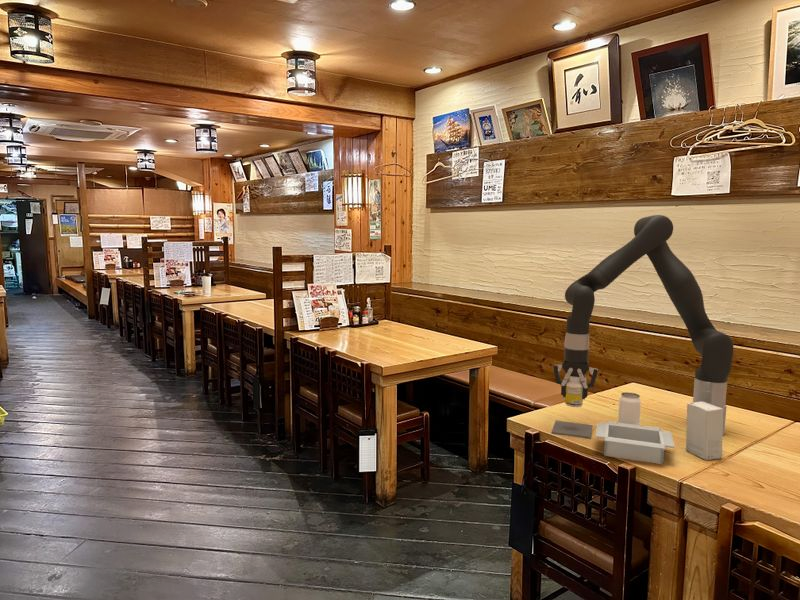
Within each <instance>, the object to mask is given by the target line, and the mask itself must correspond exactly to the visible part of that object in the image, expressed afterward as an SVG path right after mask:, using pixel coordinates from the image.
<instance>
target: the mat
mask: <svg viewBox="0 0 800 600" xmlns="http://www.w3.org/2000/svg"><path fill="white" fill-rule="evenodd" d="M593 427H594V425H593V424H587V423H580V422H572V421H565V420H555V421H554V424H553V426H552V429H551V433H550V434H552V435H560V436H567V437H575V438H582V439H587V440H588V439H589V440H591V439H592V433H593Z"/></svg>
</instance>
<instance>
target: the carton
mask: <svg viewBox="0 0 800 600" xmlns="http://www.w3.org/2000/svg"><path fill="white" fill-rule="evenodd" d="M596 426H597V427H596V431H595V438H597V439H604V447H603V448H604V449H603V457H604V456H605V457H611V458H618V459H625V460H631V461H638V462H644V461H646V462H647V463H651V462H652V463H653V464H658V465H659V464H660V465H664V458H665V451H666V448H670V449H675V443H674V439H673V436H672V432H671V431H667V430H666V431H665V430H662V427H657V426H649V425H641V424H639V425H634V424H626V423H618V421H617V422H616V421H608V420H606V422H605V423H604V422H597V424H596Z"/></svg>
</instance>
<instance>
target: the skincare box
mask: <svg viewBox="0 0 800 600" xmlns="http://www.w3.org/2000/svg"><path fill="white" fill-rule="evenodd" d="M686 405H687V406H686V430H685V431H686V435H685V436H686V438H685V451H687V452H688V453H691V454H693V455H695V456H697V457H699V458H701V459H703V460H705V461H710V460H722V458H723V440H724V439H723V436H724V435H723V408H720V407H717V406H714V405H711V404H708V403H705V402H694V403H693V402H687V404H686Z"/></svg>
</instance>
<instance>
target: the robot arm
mask: <svg viewBox="0 0 800 600" xmlns="http://www.w3.org/2000/svg"><path fill="white" fill-rule="evenodd" d="M633 233H634V234H633V235H634V237H633V238H632V239H631V240H630V241H628V242H627V243H626V244H624V245H623V246H622V247H620V248H618V249H617V250H616V251H613V252H612V253H611V254H609V255H607V256H606V257H605V258H604V259H603V260H602V261H600V262H599V263H598V264H597V265H595V266H594V267H593V268H592V269H591V270H590V271H589V272H588V273H586V274H584V275H583V276H581V277H579V278H578V279H577V280H574V282H572V283H571V284H570V285H568V287H567V288H566V290H565V293H564V299H565V301H566V302H567V303H568V304H569V305H572V310H571V314H569V315H568V316H567V317H566V327H565V337H564V344H563V346H564V348H563V349H564V350H563V352H564V353H563V362H562V364H561V363H560V364H557V363H555V364H554V365H553V372H554V381H555V383H556V384H559V385H560V387H561V390H560V395H561V396H562V397H563V398H565V396H566V383H567V382H568V381H569V380H568V378H569V376H574V377H580V379H581V381H580V382H582V384H583V401H584V400H586V399H587V398H588V394H589V393H588V391H589V389H590V388H593V387H595V386H594V385H595V383H596V379H597V375H598V372H599V370H598V368H597V367H590V365H589V356H590V355H589V354H590V353H589V352H590V320H591V317H592V314H593V311H594V306H595V303H596V302H595V299H596V298H595V292H597V291H599V290H604V289H606V288H607V287H608V286H609V285H611V283H613V282H614V281H616V279H617V278H618V277H620V276H621V275H622V274H623V273H624V272H625V271H626V270H627V269H629V268H630V267H631V266H632V265H633V264H635V263H637V262H638V261H639V260H640V259H641V258H643V257H644V256H646V255H647V257H648V259H649V260H650V262H651V264H652V265H653V268H654V270H655V272H656V273H657V276H658V278H659V279H660V281H661V283H662V285H663V287H664V289H665V291H666V293H667V295H668V297H669V299H670V301H671V302H672V304H673V306H674V308H675V310H676V312H677V313H678V314H679V316H680V318H681V320H682V322H683V323H684V325H685V327H686V329H687V333H688V335H689V337H690V340H691V343H692V345H693V347H694V349H695V351H696V352H697V353H698V354H699V355H700V356H701V361H700V366H699V367H698V368H696V369H695V372H694V381H693V382H694V383H693V397H692V403H694V402H705V403H708V404H711V405H714V406H717V407H720V408H723V436H724V435H725V430H726V418H727V405H726V401H727V400H726V399H727V387H728V379H729V378H728V377H729V376H730V374H731V370H732V366H733V365H732V364H733V358H734V342H733V339H732V338H731V337H730V336H729V335H728V334H726V333H724V332H721V331H719V330H717V329H716V327H715V326H714V325H713V323H712V322H711V319H710V318H709V316H708V314H707V313H706V309H705V308H706V307H705V303H704V295H703V293H702V289H701V287H700V285H699V283H698V281H697V279H696V277H695V276H694V274H693V273H692V271H691V270H690V268H688V266H686V265H685V263H683V261H682V260H681V259H680V258H678V257H677V255H676V254H674V252H673V251H672V249H671V248H670V246H669V244H668V242H667V241H668V240H669V239H670V238H671V237H672V235H673V233H674V224H673V222H672V220H671V219H670V218H669V217H667V216H666V215H664V214H655V215H650V216H645V217H641V218H640V219H638V220H637V221H636V222H635V224H634V227H633ZM562 370H563V371H564V373H565V375H564V378H562V379H561V377H560V376H561V375H560V372H561V371H562ZM588 372H589V373H590V375H591V378H590V382H588V380H587V378H586V374H587V373H588Z"/></svg>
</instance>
